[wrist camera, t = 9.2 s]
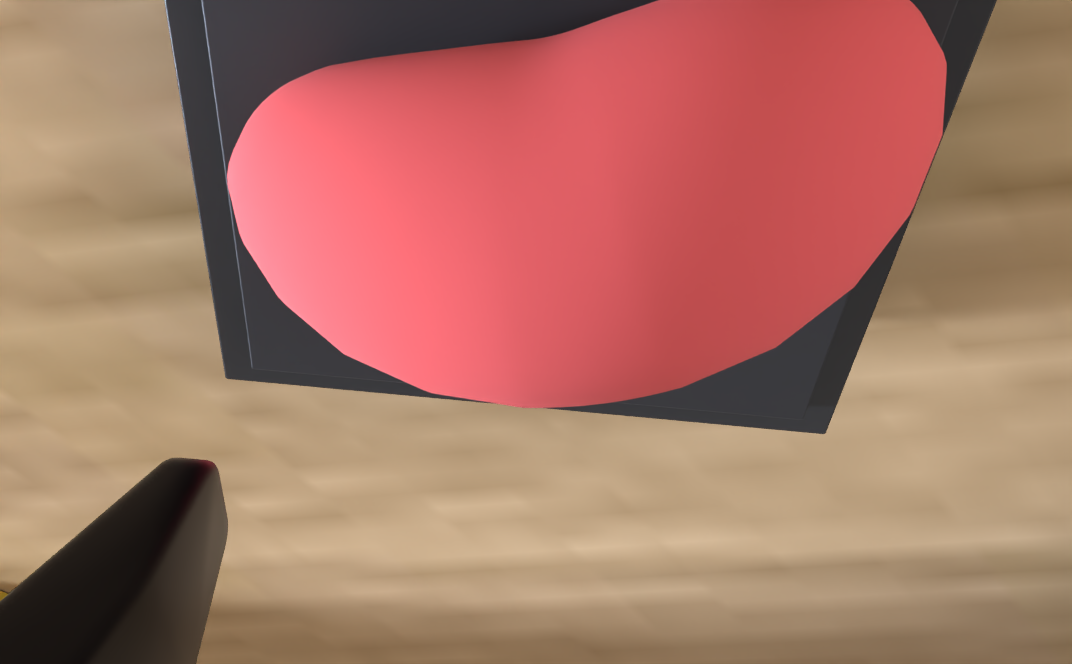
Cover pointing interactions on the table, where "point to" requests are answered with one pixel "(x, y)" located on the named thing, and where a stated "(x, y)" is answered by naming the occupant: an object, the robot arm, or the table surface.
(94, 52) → the table surface
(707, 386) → the black case
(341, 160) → the stress ball
